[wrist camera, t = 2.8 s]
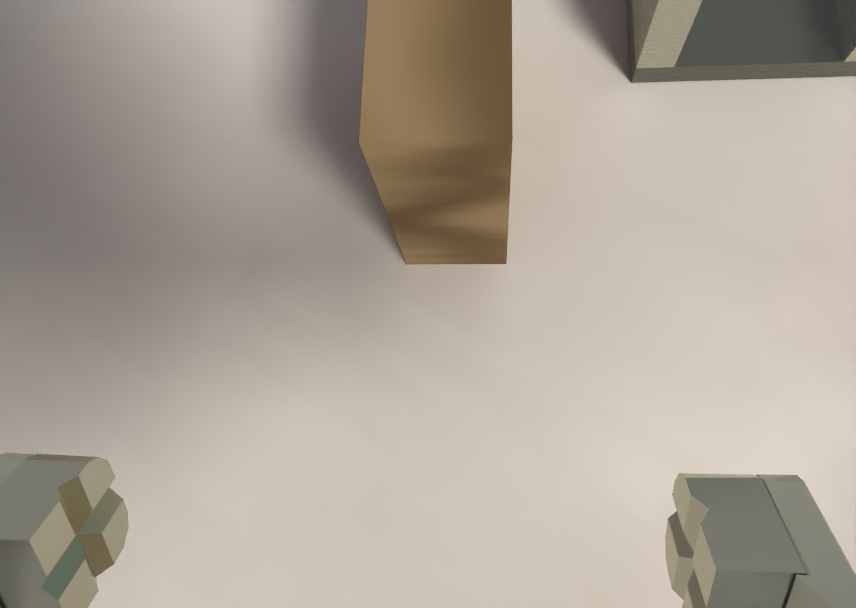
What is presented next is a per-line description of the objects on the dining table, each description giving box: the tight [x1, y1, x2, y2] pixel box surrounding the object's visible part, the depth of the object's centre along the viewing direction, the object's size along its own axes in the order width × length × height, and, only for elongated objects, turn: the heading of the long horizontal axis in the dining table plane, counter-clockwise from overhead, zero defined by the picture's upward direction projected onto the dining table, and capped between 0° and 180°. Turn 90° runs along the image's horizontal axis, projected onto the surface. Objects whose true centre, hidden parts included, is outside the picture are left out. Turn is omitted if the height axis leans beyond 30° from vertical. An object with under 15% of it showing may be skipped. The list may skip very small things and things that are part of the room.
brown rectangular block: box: [359, 0, 512, 264], centre depth 24 cm, size 4×10×10 cm, turn 178°
